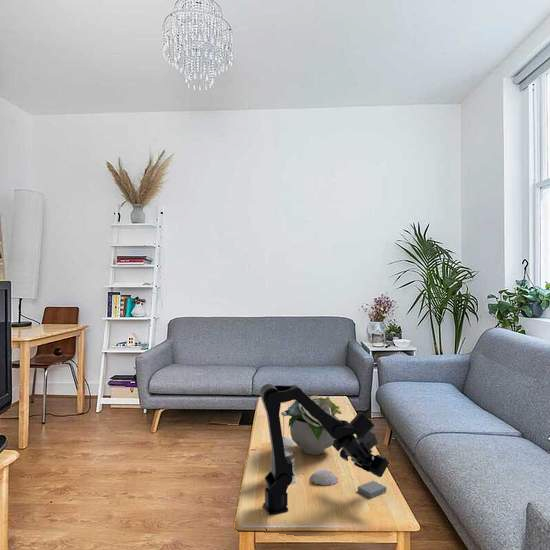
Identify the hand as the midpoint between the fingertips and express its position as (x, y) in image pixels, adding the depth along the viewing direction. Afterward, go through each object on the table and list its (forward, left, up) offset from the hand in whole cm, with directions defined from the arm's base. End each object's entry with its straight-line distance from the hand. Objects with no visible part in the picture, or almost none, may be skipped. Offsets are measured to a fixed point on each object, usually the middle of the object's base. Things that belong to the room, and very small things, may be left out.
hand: (375, 471), depth 149 cm
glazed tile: (-5, -1, -6) cm, 8 cm away
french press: (-27, +19, -7) cm, 34 cm away
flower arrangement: (-4, +39, -7) cm, 39 cm away
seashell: (-13, +14, -7) cm, 20 cm away
